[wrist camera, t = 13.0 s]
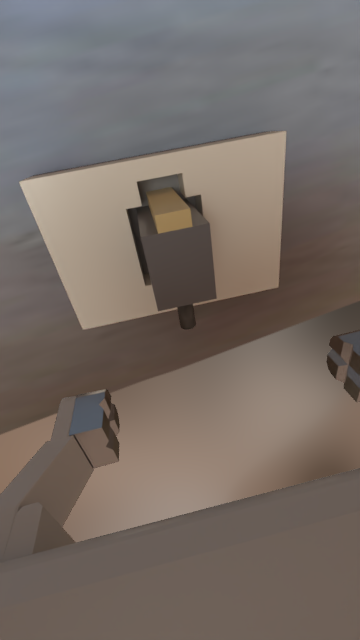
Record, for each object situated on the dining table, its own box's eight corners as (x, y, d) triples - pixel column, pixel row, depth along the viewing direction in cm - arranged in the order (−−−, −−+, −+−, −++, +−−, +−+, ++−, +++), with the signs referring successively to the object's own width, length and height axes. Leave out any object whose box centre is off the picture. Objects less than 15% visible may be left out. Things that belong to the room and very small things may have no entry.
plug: (197, 285, 27) (219, 334, 21) (156, 294, 27) (166, 346, 20) (183, 184, 22) (208, 204, 15) (133, 194, 22) (136, 219, 15)
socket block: (263, 272, 29) (278, 287, 26) (87, 309, 28) (82, 329, 25) (265, 131, 22) (286, 130, 19) (33, 175, 21) (18, 181, 18)
